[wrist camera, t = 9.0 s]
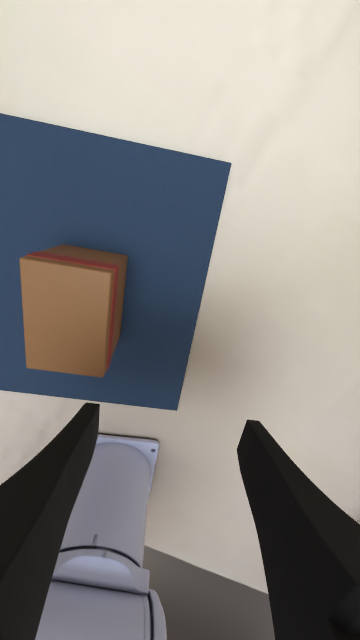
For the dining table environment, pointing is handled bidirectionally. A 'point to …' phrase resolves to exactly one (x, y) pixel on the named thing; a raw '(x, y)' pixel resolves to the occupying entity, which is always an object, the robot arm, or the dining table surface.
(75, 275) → the packet
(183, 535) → the dining table surface
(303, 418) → the dining table surface
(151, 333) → the napkin
